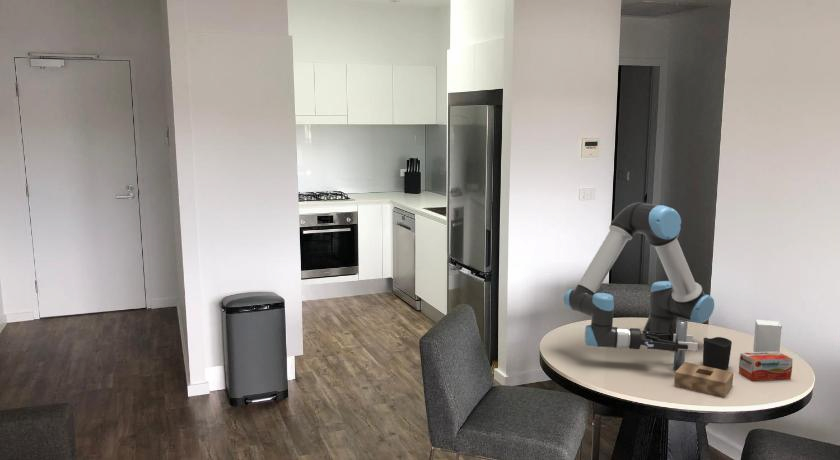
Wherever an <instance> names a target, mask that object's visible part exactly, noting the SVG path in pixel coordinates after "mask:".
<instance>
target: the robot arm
mask: <svg viewBox="0 0 840 460" xmlns="http://www.w3.org/2000/svg"><path fill="white" fill-rule="evenodd" d="M681 225H682V218H681V216H680V213H678V211H677V210H676V209H674V208H672V207H669V206H666V205H661V204H660V205H659V204H653V203H645V202H640V201H638V202H633V203H630V204H628V205H627V206H626V207H624V208H623V209H622V210H620V212H619V213H617V215H616V216H615V218H613V220H612V221H611V222H610V225H608V226H609V227H608V228H609V232H608V233H607V235H606V236H605V238H604V240H603V242H602V243H601V245H600V247H599V248H598V250H597V252H596V253H595V255H594V257H593V258H592V260H591V261H590V263H589V265H588V267H587V269H586V270H585V271H584V273H583V275H582V277H581V278H580V280H579V282H578V283H577V285H576V287H575V288H571V289H569V290H567V291H566V292H565V294H564V296H563V302H564V305H565V306H566V307H567V308H569V309H571V310H573V311H575V312H579V313H581V314H583V315H586V316H589V317H591V318H590V319H591V322H590V324H589V325H586V326H585V328H584V342H585V344H586V346H590V347H592V346H593V347H597V348H614V349H615V348H617V349H619V350H621V349H628V348H629V349H630V350H640V349H641V346H645V347H647V349H648V350H661V351H669V352H674V351H675V352H678V350H685V351H693V352H695V351H697V352H698V344H699V343H698V342H693V338H694V337H693V336H694V335H693V334H687V336H686V342H678V343H677V342H675V338H676V326H677V321H678V320H680V319H683V320H685V321H689V322H691V323H696V324H702V323H705V322H707V321H709V319H710V318H711V316H712V315H713V312H714V310H715V300H714V298H713V297H712V296H711V295H710V294H705V292H704V289H703V286H702V285H701V284H699V282H696V281H695V279H694V276H693V273H692V272H691V269H690V267H689V264H688V262H687V259H686V257H685V255H684V251H683V250H682V247H681V246H680V245H681V244H680V242H679V240H678V238H679V235H680V231H681V229H682V226H681ZM636 234H641V235H644V236H645V238H646V241H647V244H648V245H650V246H652V247H654V248H655V251H656V253H657V257H658V258H659V260H660V262H661V265H662V267H663V270H664V272H665V274H666V276H667V279H668V280H662V281H661V280H660V281H655V282H653V283H652V284H651V286H650V287H651V289H650V292H649V293H650V296H649V297H650V298H649V313H648V314H649V315H648V319H647V320H646V323H645V325H644V328H643V330H642V331H641V329H640V328H638V327H637V328H634V327H630V328H628V327H622V326H621V327H620V326H613V322H614V321H613V319H614V309H615V302H614V301H615V298H614V296H613V295H612V294H610V293H605V292H598V291H599V289H600V287H601V286H602V284H603V282H604V280H605V279H606V278H607V276H608V274H609V272H610V271H611V269H612V267H613V266H614V264H615V262H616V261H617V259H618V258H619V255H620V254H621V252H622V251H623V249H624V247H625V245H626V244H627V243H628V241H632V239H633V238H634V235H636Z"/></svg>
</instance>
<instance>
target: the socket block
mask: <svg viewBox="0 0 840 460" xmlns="http://www.w3.org/2000/svg"><path fill="white" fill-rule="evenodd" d="M733 382H734V371H730V370H727V369H726V370H721V369H716V368H711V367H707V366H704V365H703V364H702V365H700V364H698V363H697V364H696V363H691V362H687V361H684V363H683V364H682V365H681V366H680V367H679V369H678V370H677V371H675V372H674V384H673V386H674V387H677V388H681V389H686V390H690V391H694V392H698V393H702V394H703V393H704V394H708V395H711V396H716V397H719V398H720V397H721V398H726V396H727V394H728V393H729V391H730V390H731V389H732V387H733Z"/></svg>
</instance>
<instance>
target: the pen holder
mask: <svg viewBox="0 0 840 460" xmlns="http://www.w3.org/2000/svg"><path fill="white" fill-rule="evenodd" d="M732 343H733V341H732V340H730V339H729V338H726V337H722V336H715V337H712V338H708V337H703V348H702V349H703V350H702V366H707V367H711V368H716V369H721V370H726V371H727V370H728V369H729V366H730V365H729V364H730V359H731V351H732Z"/></svg>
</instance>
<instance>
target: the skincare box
mask: <svg viewBox="0 0 840 460" xmlns="http://www.w3.org/2000/svg"><path fill="white" fill-rule="evenodd" d="M754 325H755V326H754V337H753V350H752V352H772V351H778V352H780V351H781V337H782V327H783V326H782V325H781V322H780V321H779V320H769V319H767V320H765V319H755V324H754Z"/></svg>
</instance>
